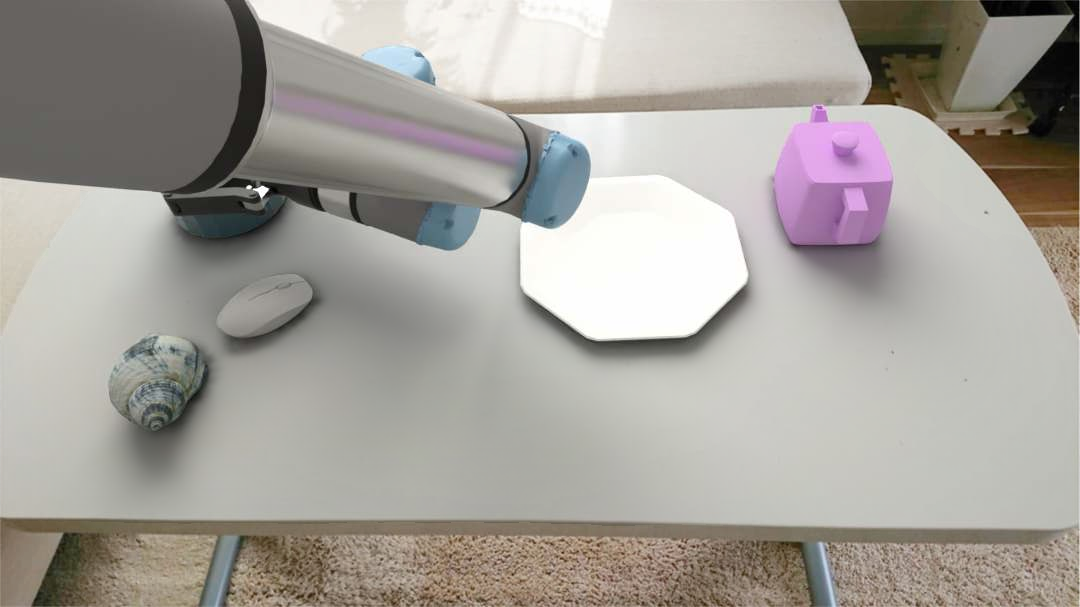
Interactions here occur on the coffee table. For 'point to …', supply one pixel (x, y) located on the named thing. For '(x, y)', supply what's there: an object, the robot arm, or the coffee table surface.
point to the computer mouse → (264, 305)
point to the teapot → (832, 182)
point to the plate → (635, 261)
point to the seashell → (156, 380)
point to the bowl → (228, 221)
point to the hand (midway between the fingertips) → (180, 130)
